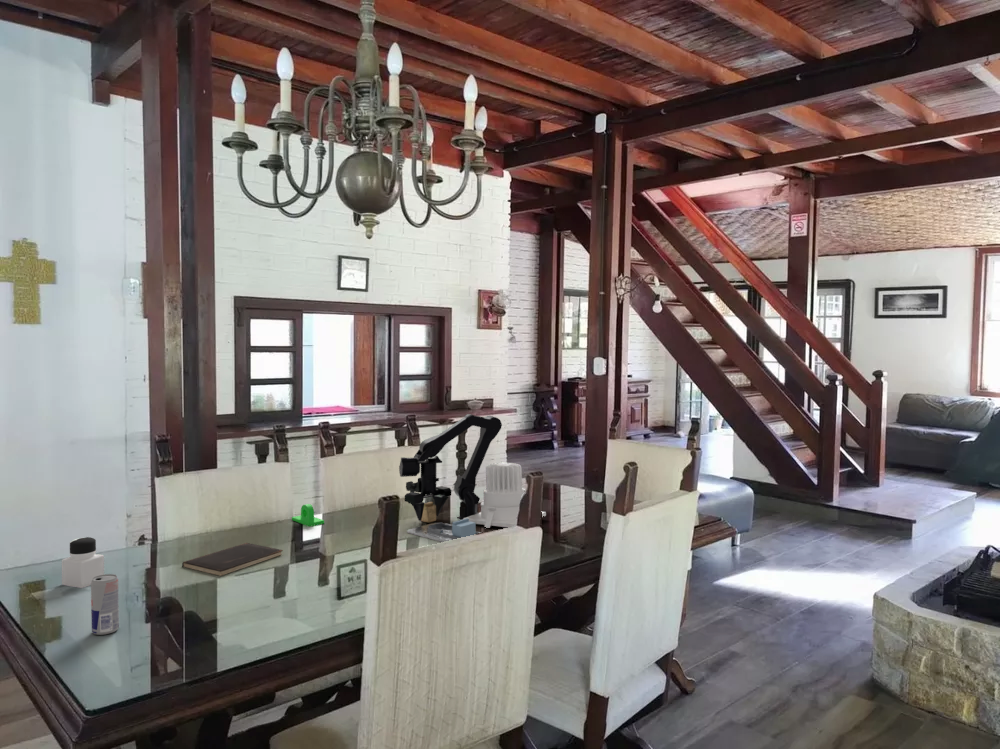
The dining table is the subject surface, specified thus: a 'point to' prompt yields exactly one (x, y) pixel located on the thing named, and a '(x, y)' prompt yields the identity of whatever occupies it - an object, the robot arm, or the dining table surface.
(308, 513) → the mechanical part
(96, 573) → the medicine bottle
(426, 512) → the block
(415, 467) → the robot arm
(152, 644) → the dining table surface
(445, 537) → the seat jig
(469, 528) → the block
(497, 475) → the recessed light fixture
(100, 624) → the energy drink
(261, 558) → the hardcover book
